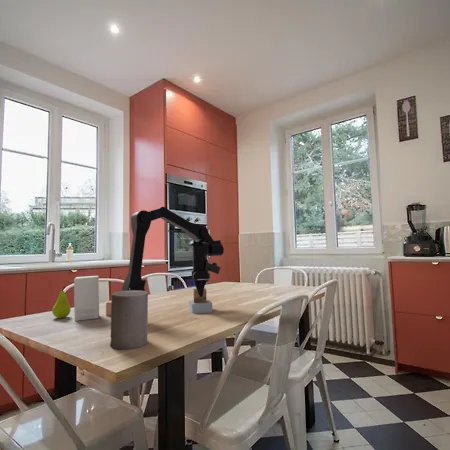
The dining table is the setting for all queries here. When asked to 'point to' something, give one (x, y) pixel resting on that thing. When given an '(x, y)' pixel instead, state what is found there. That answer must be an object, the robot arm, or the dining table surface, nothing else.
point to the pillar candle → (129, 319)
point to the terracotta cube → (108, 308)
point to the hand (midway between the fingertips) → (200, 295)
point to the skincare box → (86, 297)
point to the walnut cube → (200, 299)
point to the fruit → (61, 306)
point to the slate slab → (200, 307)
